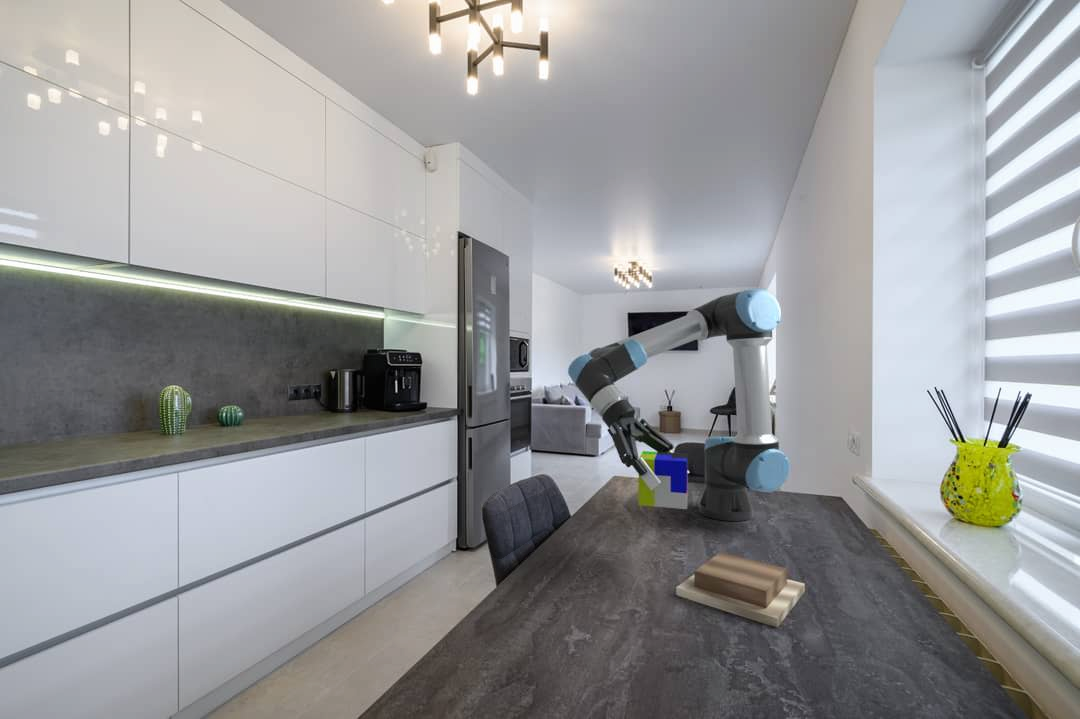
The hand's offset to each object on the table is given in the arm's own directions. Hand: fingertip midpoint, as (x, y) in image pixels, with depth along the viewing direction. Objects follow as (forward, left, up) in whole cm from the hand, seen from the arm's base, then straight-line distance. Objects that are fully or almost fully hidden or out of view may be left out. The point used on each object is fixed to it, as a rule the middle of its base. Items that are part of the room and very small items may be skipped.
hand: (671, 481), depth 109 cm
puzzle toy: (0, -2, -5) cm, 5 cm away
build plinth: (+3, +16, -19) cm, 25 cm away
